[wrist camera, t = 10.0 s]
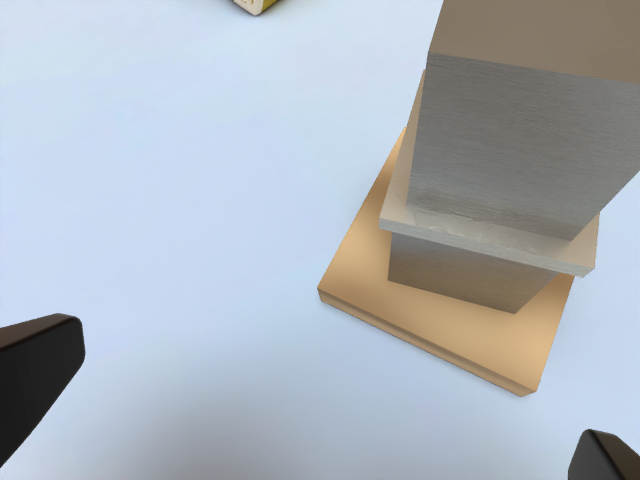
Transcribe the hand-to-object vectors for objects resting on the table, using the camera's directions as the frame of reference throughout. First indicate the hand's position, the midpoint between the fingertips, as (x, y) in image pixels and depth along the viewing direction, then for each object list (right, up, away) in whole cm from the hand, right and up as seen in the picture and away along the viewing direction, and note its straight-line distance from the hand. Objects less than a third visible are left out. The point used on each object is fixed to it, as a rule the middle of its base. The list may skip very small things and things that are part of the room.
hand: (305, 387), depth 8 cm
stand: (+7, +2, +15) cm, 17 cm away
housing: (+7, +3, +13) cm, 15 cm away
